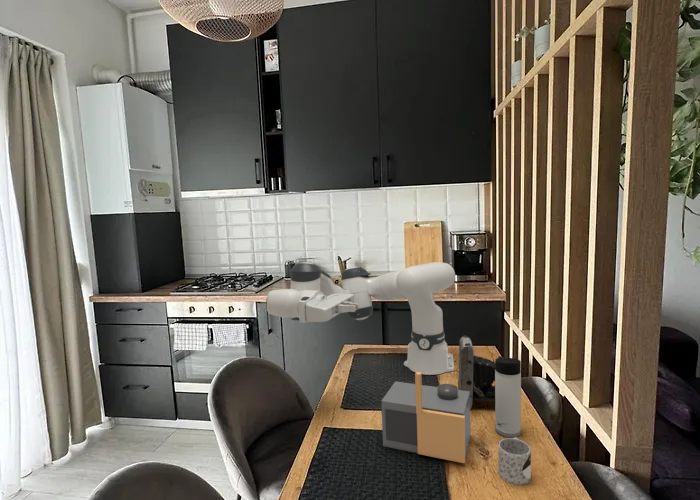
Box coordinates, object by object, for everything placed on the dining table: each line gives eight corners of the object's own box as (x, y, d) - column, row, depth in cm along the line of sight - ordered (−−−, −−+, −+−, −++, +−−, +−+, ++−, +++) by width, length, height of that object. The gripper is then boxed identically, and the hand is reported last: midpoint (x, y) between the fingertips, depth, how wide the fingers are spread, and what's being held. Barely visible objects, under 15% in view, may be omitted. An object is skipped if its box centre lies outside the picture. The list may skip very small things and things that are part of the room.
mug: (530, 488, 86) (530, 458, 85) (497, 480, 89) (496, 451, 88) (531, 460, 95) (531, 433, 94) (501, 454, 98) (501, 428, 97)
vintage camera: (515, 415, 116) (517, 347, 115) (459, 410, 120) (460, 344, 118) (508, 399, 126) (511, 337, 124) (457, 395, 129) (458, 334, 127)
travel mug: (498, 438, 105) (498, 363, 103) (493, 424, 111) (492, 353, 109) (524, 439, 104) (524, 363, 102) (517, 425, 110) (517, 354, 108)
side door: (418, 451, 99) (416, 371, 97) (465, 460, 95) (464, 377, 93) (417, 455, 98) (415, 374, 96) (464, 464, 93) (463, 380, 91)
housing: (396, 422, 114) (395, 374, 113) (470, 435, 106) (469, 384, 105) (382, 446, 103) (380, 393, 102) (464, 463, 95) (463, 405, 94)
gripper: (329, 307, 132) (369, 309, 126) (297, 324, 113) (342, 328, 107) (328, 287, 131) (369, 289, 125) (295, 302, 112) (341, 305, 107)
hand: (356, 307), depth 116 cm, fingers closed
